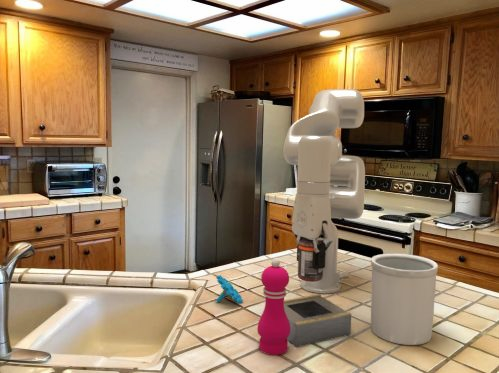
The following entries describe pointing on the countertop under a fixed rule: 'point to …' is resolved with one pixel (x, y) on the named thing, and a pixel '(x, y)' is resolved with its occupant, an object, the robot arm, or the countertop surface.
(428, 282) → the utensil holder
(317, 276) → the supplement bottle
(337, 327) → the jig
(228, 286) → the cyan jagged piece
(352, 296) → the countertop surface
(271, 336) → the pepper mill
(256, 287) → the countertop surface
